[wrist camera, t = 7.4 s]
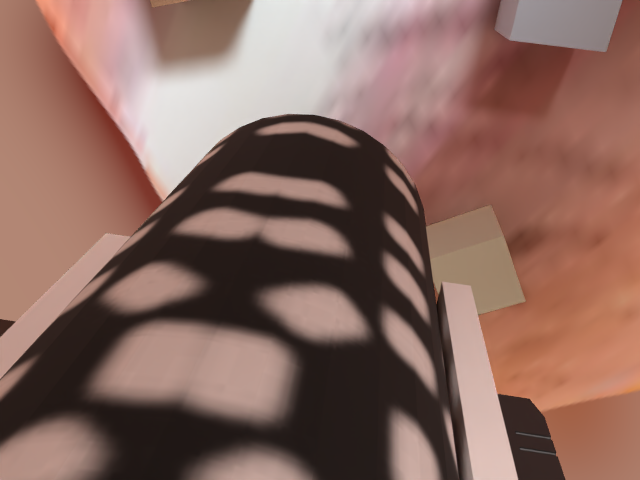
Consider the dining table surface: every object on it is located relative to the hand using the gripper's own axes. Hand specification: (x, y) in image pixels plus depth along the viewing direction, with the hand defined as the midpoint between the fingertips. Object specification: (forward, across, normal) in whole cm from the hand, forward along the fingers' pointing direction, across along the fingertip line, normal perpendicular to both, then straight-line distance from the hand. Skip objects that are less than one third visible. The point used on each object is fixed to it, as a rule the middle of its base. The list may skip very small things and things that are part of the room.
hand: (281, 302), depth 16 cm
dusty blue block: (+24, +11, +8) cm, 28 cm away
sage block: (+24, +10, -9) cm, 28 cm away
